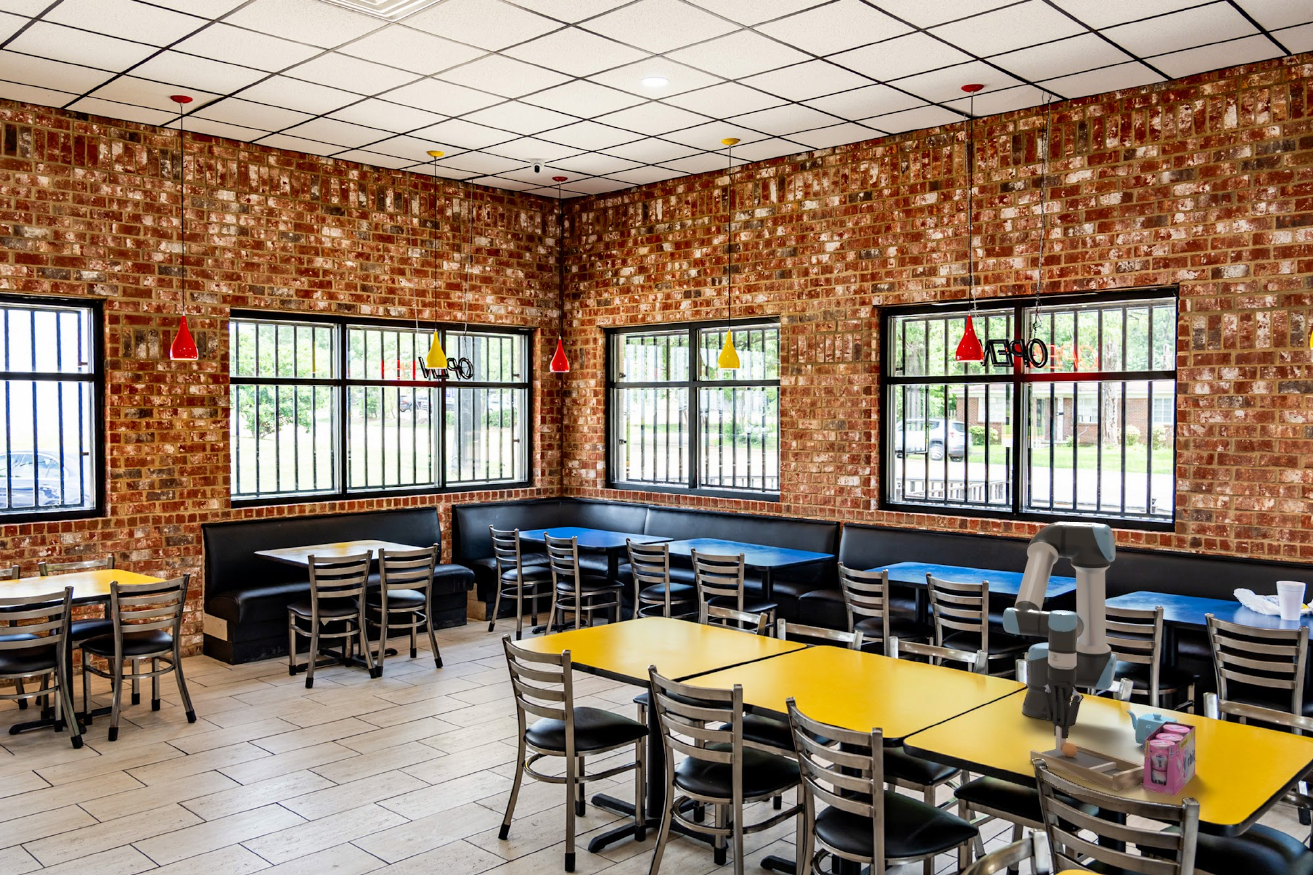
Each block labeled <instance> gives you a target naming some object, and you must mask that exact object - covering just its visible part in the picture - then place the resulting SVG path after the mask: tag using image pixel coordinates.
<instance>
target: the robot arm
mask: <svg viewBox="0 0 1313 875" xmlns="http://www.w3.org/2000/svg"><path fill="white" fill-rule="evenodd" d="M1026 555H1027V557H1028V559H1027V562H1026V566H1025V570H1024V573H1023V576H1022V579H1021V583H1020V586H1019V590H1018V593H1017V597H1016V600H1015V604H1014V607H1007V608H1005V609H1004V612H1003V616H1002V626H1003V629H1004V631H1005V632H1006V633H1007V634H1008V633H1010V634H1013V635H1014V634H1015V635H1021V636H1033V637H1044V638H1048V642H1040V643H1036V644H1032V645H1031V646H1029V649H1028V658H1027V662H1028V663H1027V666H1028V667H1027V675H1028V676H1027V677H1028V678H1027V679H1028V682H1027V684H1028V685H1027V692H1026V695H1025V697H1024V700H1023V703H1022V713H1023V714H1024V715H1026V716H1029V717H1031V718H1035V719H1040V720H1048V722H1051V723H1052V724H1053V735H1054V737H1055V749H1058V750H1062V747H1063V745H1064V744H1066V742H1067V739H1069V733H1070V732H1069V730H1070V729H1069V728H1070V727H1075V726H1076V723H1077V722H1076V721H1077V719H1078V714H1079V710H1080V706H1081V702H1082V701H1083V700H1084V698H1085V697H1084V695H1083V693H1082V694H1080V693H1079V692H1078V691H1077V687H1078V688H1086V689H1091V690H1092V689H1094V690H1105V691H1106V690H1107V691H1108V690H1109V689H1110V688H1112V686H1113V683H1114V678H1115V673H1116V668H1117V660H1118V659H1117V655H1116V654H1115V653H1112V647H1111V646H1110V645H1109V644H1108V643H1107V637H1106V636H1107V634H1106V633H1107V632H1106V631H1107V629H1106V628H1107V627H1106V623H1107V622H1106V570H1108V569H1109V568H1110V567H1111V563H1113V562H1114V561H1115V559H1116V555H1117V553H1116V542H1115V537H1114V531H1113V529H1112V528H1111V527H1110V526H1109V525H1108V524H1104V523H1096V522H1074V521H1073V522H1072V521H1071V522H1070V521H1056V522H1052V523H1050V524H1048V525H1046V526H1044V527H1042V528H1041V529H1040V530H1039V531H1037V532H1036V534H1035V535H1033V537H1032V538H1031V540H1030V542H1029V544H1028V547H1027V551H1026ZM1060 558H1064V559H1070V565H1071V566H1072V567H1073V568H1074V569H1075V578H1076V579H1075V584H1076V587H1075V588H1076V592H1075V593H1076V597H1075V599H1076V611H1071V610H1069V611H1068V610H1051V611H1046V610H1045V611H1044V610H1042V608H1043V604H1044V600H1045V596H1046V592H1047V589H1048V585H1049V581H1050V577H1051V575H1052V574H1051V573H1052V570H1053V566H1054V564H1056V563H1057V562H1058V560H1059V559H1060Z"/></svg>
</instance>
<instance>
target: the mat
mask: <svg viewBox="0 0 1313 875" xmlns="http://www.w3.org/2000/svg"><path fill="white" fill-rule="evenodd" d="M1040 753H1043V754H1046V755H1049V756H1052V757H1055V758H1058V759H1062V760H1065V761H1068V762H1071V763H1074V764H1077V765H1080V766H1083V767H1086V768H1089V769H1092V770H1095V771H1098V772H1101V773H1104V774H1107V775H1110V776H1113V774H1116V773H1120V772H1123V771H1124V770H1120V769H1117V768H1116V763H1115V762H1112V761H1109V760H1106V759H1103V758H1100V757H1097V756H1093V755H1090V754H1087V753H1084V752H1081V751H1078V750H1077V754H1076V755H1075V756H1074V757H1067V756H1065V755H1064V754H1063V752H1062V750H1058V749H1056V748H1055V749H1050V750H1046V751H1042V752H1040Z"/></svg>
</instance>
